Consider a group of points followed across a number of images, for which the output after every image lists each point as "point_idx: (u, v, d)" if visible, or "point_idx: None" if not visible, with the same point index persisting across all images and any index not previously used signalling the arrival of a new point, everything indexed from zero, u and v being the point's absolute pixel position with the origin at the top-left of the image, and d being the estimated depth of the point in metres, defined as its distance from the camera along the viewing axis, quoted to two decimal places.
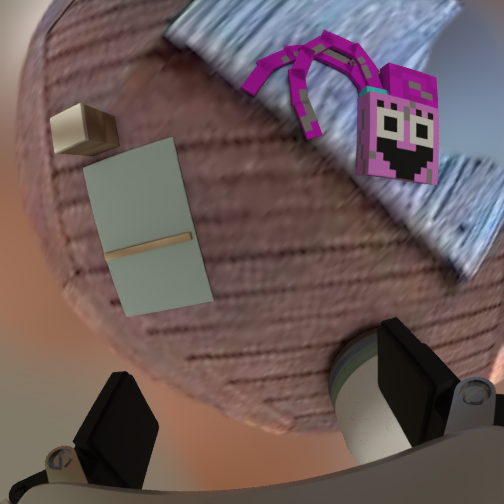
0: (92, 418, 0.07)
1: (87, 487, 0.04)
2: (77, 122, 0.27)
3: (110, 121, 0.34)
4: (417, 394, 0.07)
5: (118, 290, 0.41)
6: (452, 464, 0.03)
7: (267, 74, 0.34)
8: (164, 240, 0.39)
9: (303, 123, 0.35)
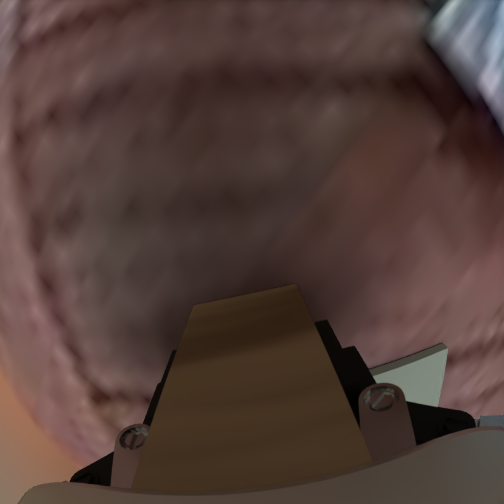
0: None
1: (87, 487, 0.04)
2: None
3: None
4: None
5: None
6: (452, 464, 0.03)
7: None
8: None
9: None
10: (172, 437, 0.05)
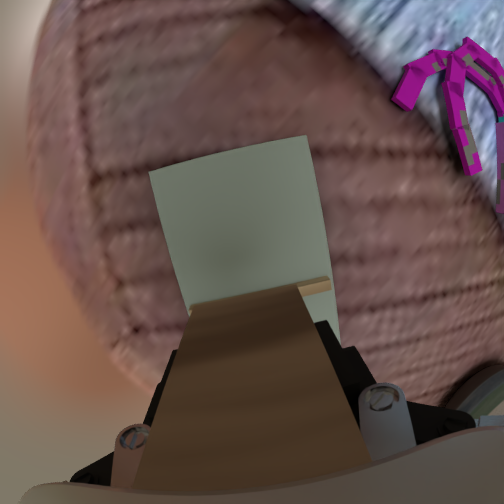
0: None
1: (87, 487, 0.04)
2: None
3: None
4: None
5: None
6: (452, 464, 0.03)
7: (422, 84, 0.22)
8: None
9: (466, 155, 0.23)
10: (172, 439, 0.05)
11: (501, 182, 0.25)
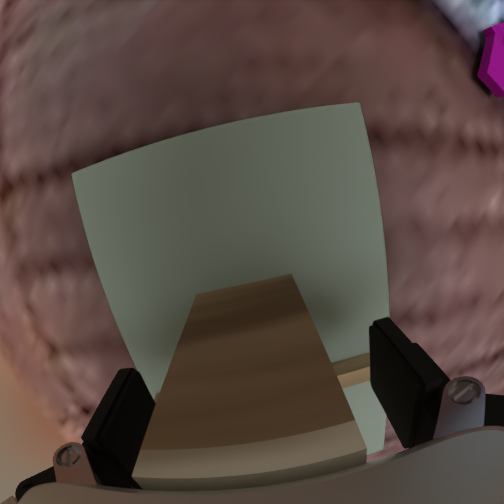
0: (100, 415, 0.07)
1: (87, 487, 0.04)
2: None
3: None
4: (406, 393, 0.07)
5: None
6: (452, 464, 0.03)
7: None
8: None
9: None
10: (178, 403, 0.07)
11: None
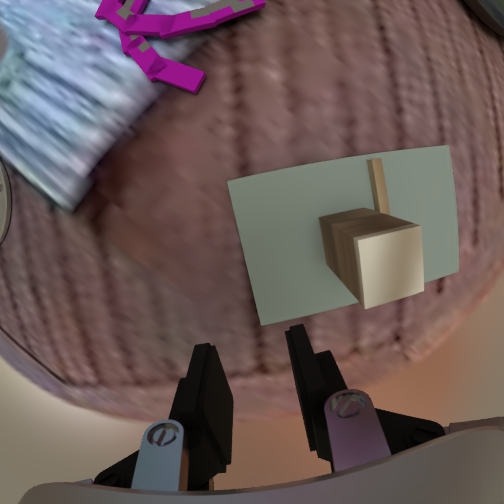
0: (192, 388, 0.08)
1: (87, 487, 0.04)
2: (391, 243, 0.17)
3: (335, 217, 0.25)
4: (300, 398, 0.08)
5: (429, 278, 0.28)
6: (452, 464, 0.03)
7: (170, 62, 0.22)
8: (380, 198, 0.25)
9: (243, 8, 0.20)
10: (352, 286, 0.20)
11: None
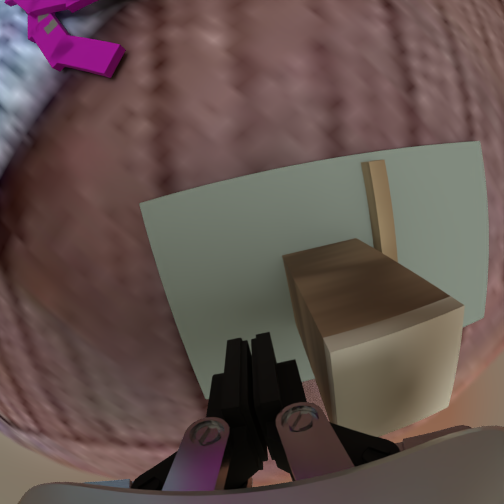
0: (232, 383, 0.08)
1: (87, 487, 0.04)
2: (402, 349, 0.08)
3: (306, 259, 0.15)
4: None
5: None
6: (452, 464, 0.03)
7: (78, 39, 0.12)
8: (382, 224, 0.16)
9: None
10: (323, 397, 0.11)
11: None
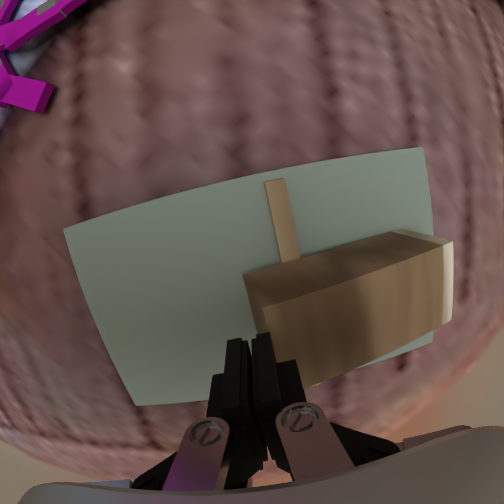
0: (232, 383, 0.08)
1: (87, 487, 0.04)
2: None
3: (298, 285, 0.12)
4: None
5: (382, 357, 0.19)
6: (452, 464, 0.03)
7: (16, 78, 0.13)
8: (283, 248, 0.16)
9: None
10: (422, 326, 0.13)
11: None
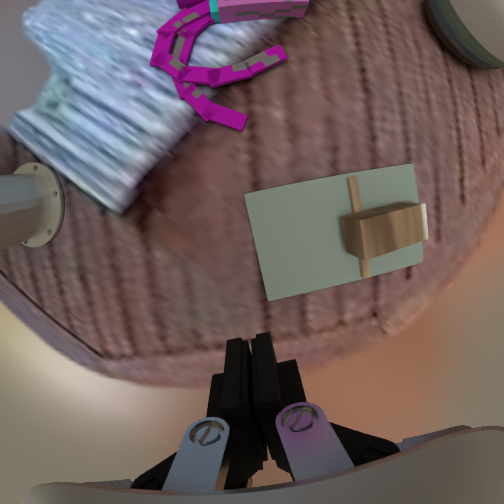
0: (232, 383, 0.08)
1: (87, 487, 0.04)
2: None
3: (368, 216, 0.32)
4: None
5: (398, 267, 0.38)
6: (452, 464, 0.03)
7: (220, 107, 0.32)
8: (355, 206, 0.35)
9: (271, 62, 0.30)
10: (414, 238, 0.33)
11: (276, 15, 0.30)
